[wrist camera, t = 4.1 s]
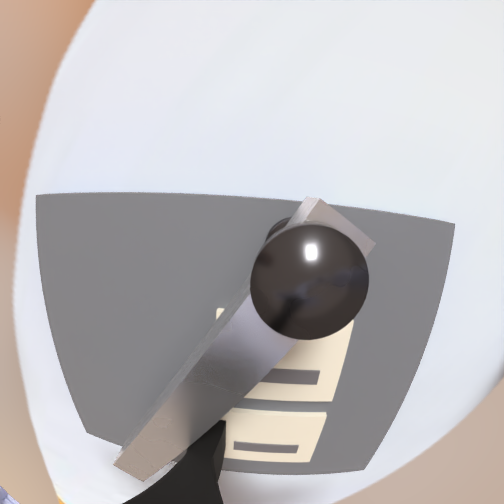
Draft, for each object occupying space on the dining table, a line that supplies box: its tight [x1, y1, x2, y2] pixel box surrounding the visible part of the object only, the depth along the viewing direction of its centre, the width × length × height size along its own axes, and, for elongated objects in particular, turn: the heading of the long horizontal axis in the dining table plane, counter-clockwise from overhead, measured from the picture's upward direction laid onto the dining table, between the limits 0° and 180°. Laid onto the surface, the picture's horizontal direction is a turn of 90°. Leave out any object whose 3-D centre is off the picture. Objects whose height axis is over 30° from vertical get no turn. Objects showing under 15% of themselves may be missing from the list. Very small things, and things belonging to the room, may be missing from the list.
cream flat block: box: [220, 408, 327, 462], centre depth 11 cm, size 5×4×1 cm
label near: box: [216, 308, 354, 401], centre depth 10 cm, size 5×4×1 cm
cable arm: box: [113, 197, 376, 482], centre depth 8 cm, size 2×14×3 cm, turn 145°
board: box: [36, 192, 455, 475], centre depth 11 cm, size 18×15×1 cm
